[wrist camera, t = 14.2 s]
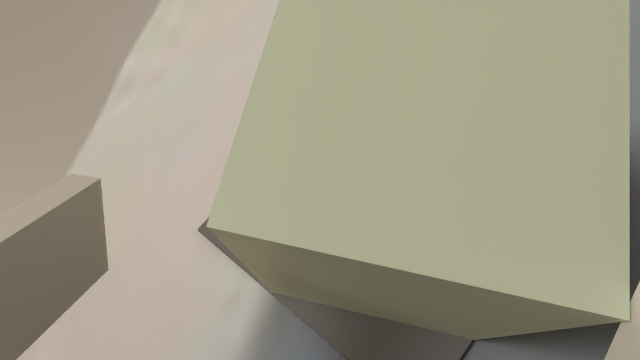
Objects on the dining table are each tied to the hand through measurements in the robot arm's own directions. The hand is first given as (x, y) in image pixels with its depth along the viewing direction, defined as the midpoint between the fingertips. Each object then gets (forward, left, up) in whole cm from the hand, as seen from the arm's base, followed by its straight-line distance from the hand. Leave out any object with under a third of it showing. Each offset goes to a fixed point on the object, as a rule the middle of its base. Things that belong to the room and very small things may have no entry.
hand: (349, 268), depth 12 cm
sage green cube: (-3, -4, -12) cm, 13 cm away
